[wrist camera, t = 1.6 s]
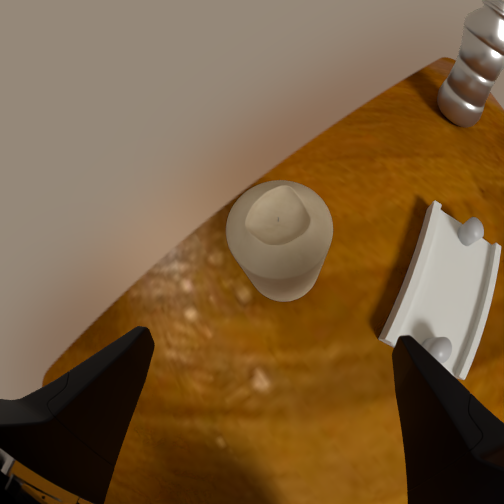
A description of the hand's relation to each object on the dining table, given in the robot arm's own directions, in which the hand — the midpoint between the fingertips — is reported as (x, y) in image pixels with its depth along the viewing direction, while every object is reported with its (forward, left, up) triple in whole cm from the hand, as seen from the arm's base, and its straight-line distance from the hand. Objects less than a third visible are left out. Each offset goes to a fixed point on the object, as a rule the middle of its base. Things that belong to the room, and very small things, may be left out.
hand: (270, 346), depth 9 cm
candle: (+5, +3, -12) cm, 13 cm away
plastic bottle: (+34, -8, -12) cm, 37 cm away
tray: (+10, -11, -12) cm, 19 cm away
